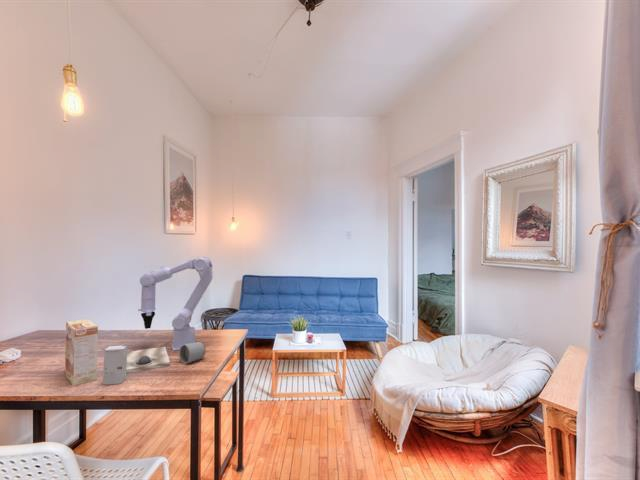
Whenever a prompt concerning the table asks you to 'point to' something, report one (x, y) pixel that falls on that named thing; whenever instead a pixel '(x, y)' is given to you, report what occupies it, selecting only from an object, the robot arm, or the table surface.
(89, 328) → the coffeecake box
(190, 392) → the table surface
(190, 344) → the ceramic mug
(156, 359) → the board
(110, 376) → the skincare box
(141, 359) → the ball
